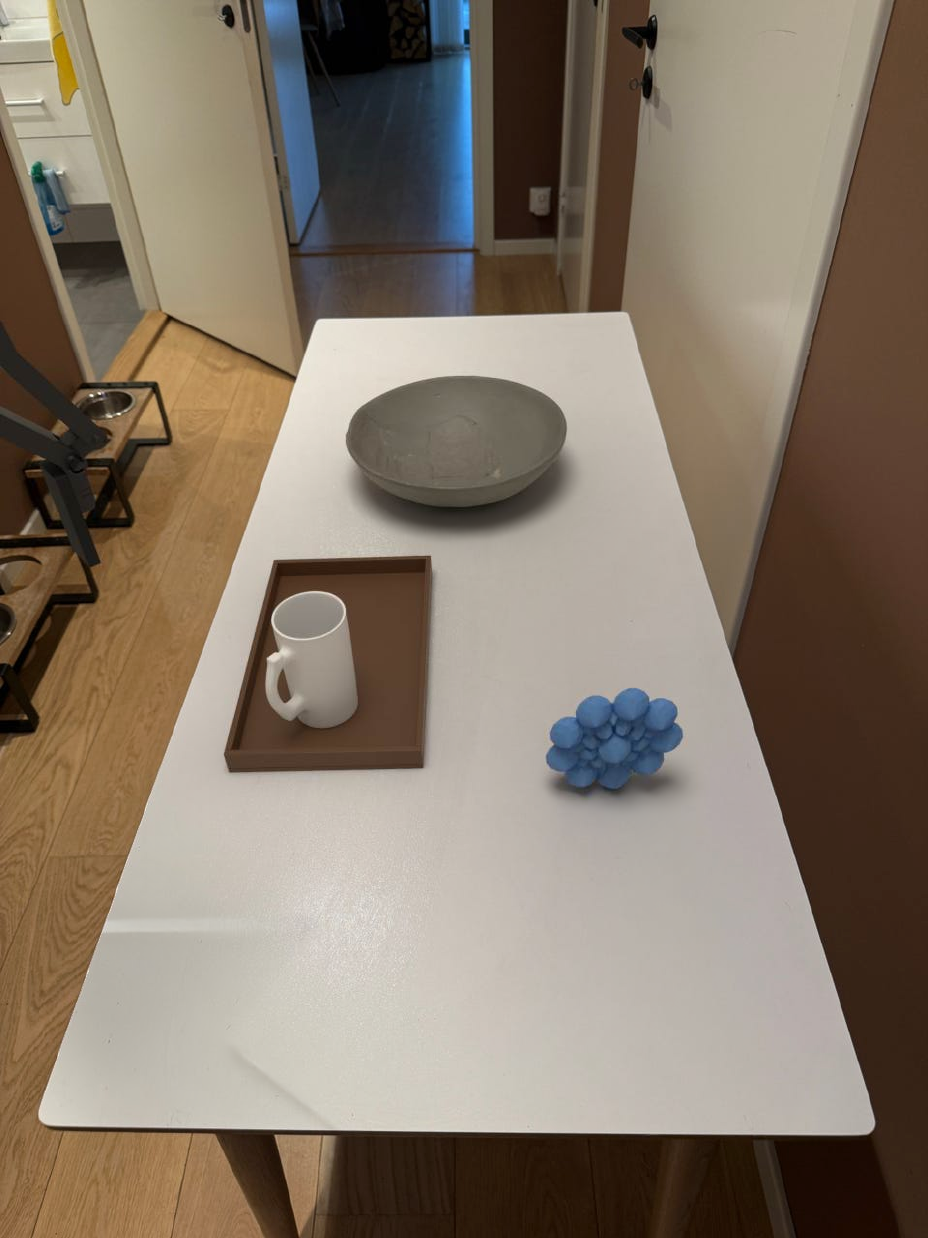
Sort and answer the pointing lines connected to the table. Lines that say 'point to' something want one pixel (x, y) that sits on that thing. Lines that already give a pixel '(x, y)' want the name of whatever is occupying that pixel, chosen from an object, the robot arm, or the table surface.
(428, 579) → the tray
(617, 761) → the blue sphere cluster
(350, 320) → the table surface
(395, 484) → the bowl
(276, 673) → the mug
